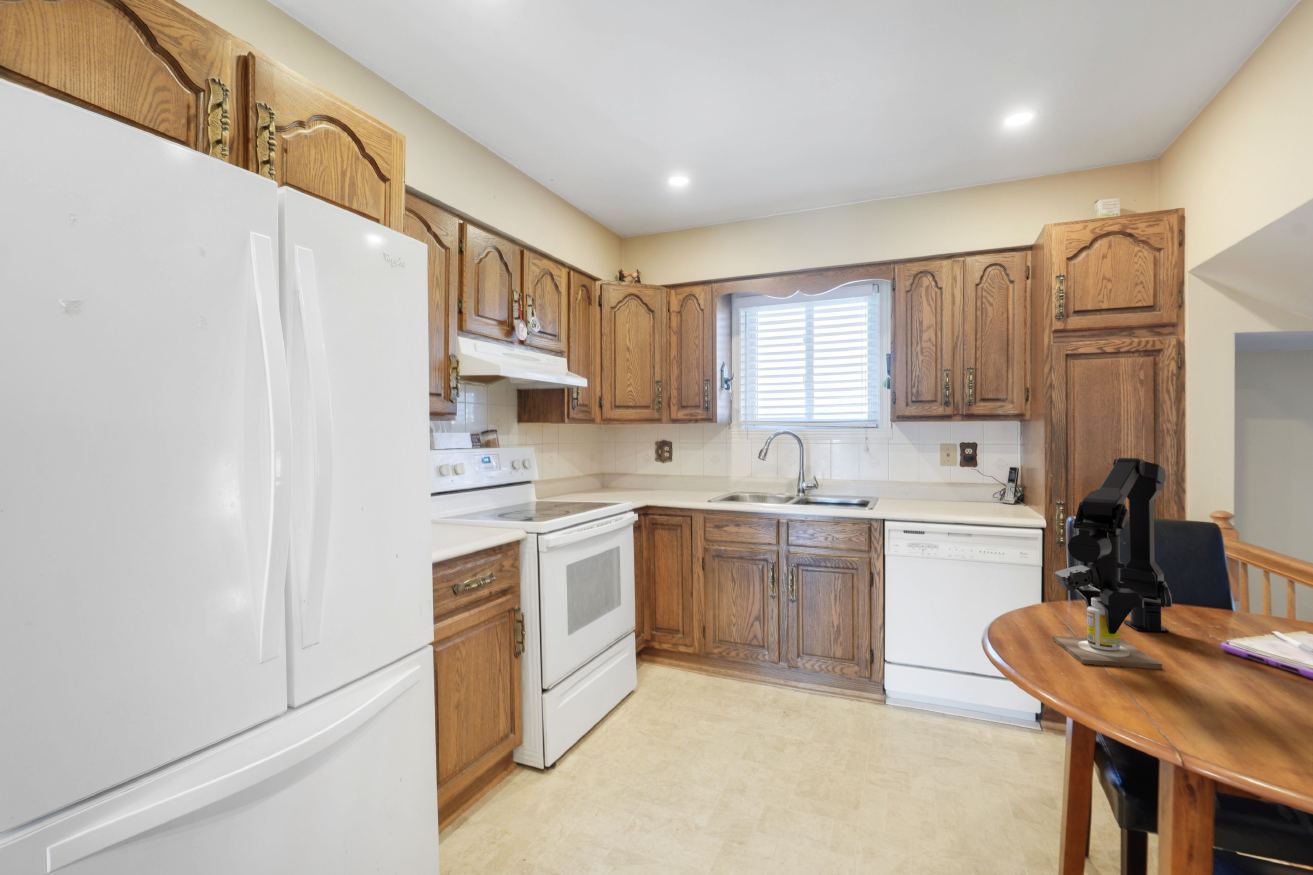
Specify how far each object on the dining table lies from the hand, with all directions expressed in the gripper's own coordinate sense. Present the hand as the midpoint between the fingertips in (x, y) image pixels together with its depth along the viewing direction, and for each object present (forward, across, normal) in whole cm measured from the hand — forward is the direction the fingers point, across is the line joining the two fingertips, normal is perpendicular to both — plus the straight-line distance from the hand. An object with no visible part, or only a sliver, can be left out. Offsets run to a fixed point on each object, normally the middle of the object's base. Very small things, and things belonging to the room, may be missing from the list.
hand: (1103, 628), depth 125 cm
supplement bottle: (+4, 0, 0) cm, 4 cm away
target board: (+6, 0, 0) cm, 6 cm away
